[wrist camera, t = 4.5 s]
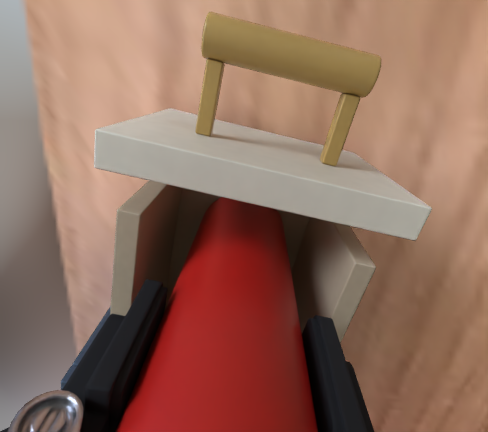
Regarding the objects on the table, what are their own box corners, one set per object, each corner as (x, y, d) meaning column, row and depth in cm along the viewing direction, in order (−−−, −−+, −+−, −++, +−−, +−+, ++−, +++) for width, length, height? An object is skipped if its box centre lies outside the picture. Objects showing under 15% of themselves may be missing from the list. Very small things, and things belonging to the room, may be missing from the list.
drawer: (179, 23, 15) (99, -41, 7) (383, 75, 15) (506, 66, 8) (145, 303, 22) (85, 421, 14) (286, 332, 22) (302, 461, 15)
